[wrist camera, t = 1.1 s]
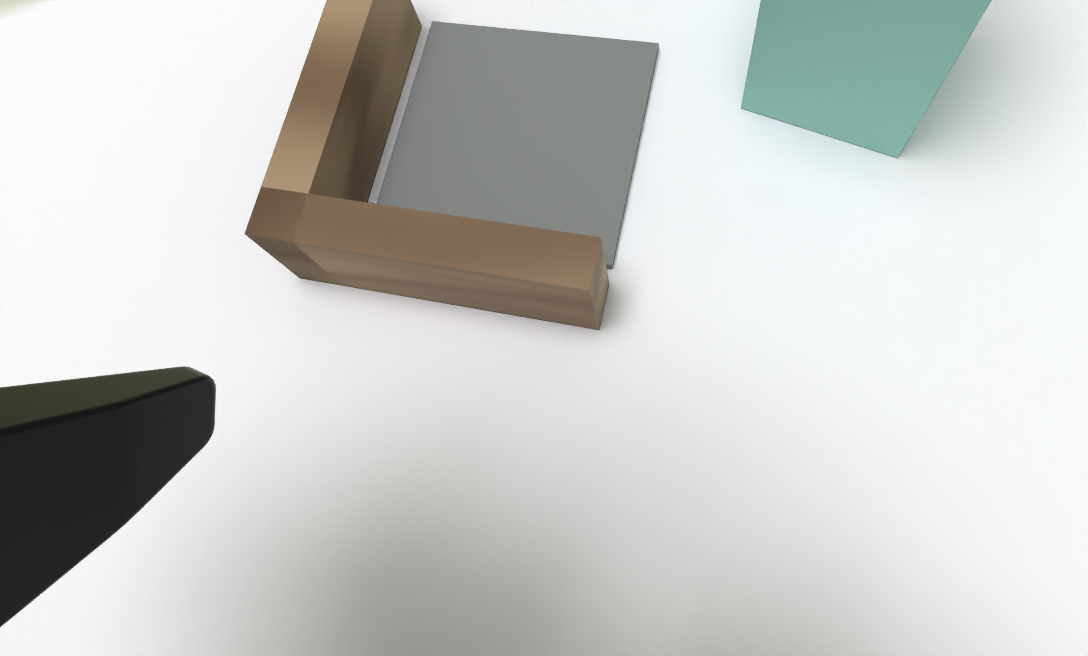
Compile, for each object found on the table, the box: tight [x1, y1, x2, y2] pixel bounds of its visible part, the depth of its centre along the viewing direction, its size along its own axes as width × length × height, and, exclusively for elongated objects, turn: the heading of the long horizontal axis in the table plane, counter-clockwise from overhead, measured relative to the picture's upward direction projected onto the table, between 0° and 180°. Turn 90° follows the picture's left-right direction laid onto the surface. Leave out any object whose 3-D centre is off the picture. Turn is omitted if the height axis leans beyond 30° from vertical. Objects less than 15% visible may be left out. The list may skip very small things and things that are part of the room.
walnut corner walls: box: [245, 0, 609, 330], centre depth 24 cm, size 10×10×4 cm
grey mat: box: [377, 21, 659, 269], centre depth 25 cm, size 8×8×1 cm
